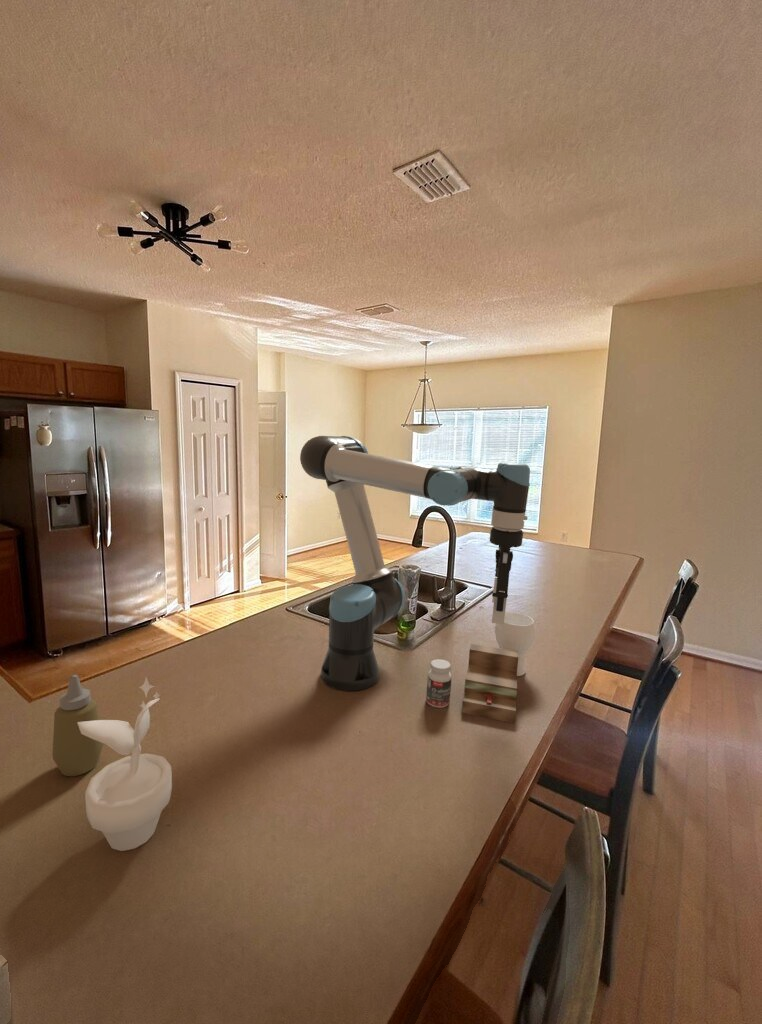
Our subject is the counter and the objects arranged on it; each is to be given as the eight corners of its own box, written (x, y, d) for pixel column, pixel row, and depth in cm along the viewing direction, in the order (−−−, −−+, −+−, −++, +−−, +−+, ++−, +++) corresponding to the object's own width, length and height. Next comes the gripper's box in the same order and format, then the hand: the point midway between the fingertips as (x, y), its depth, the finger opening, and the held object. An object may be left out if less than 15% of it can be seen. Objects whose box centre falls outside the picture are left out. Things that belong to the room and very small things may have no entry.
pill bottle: (430, 710, 108) (433, 670, 107) (422, 696, 114) (424, 659, 112) (453, 707, 110) (456, 668, 108) (444, 694, 115) (446, 657, 114)
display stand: (461, 712, 108) (464, 672, 106) (468, 678, 123) (470, 643, 121) (514, 723, 105) (518, 682, 103) (514, 687, 120) (518, 651, 118)
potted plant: (185, 805, 78) (180, 667, 74) (153, 869, 67) (146, 710, 62) (108, 804, 78) (100, 665, 73) (63, 868, 66) (51, 708, 62)
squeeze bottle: (95, 745, 91) (90, 661, 89) (112, 765, 86) (107, 676, 84) (47, 766, 85) (39, 676, 82) (62, 789, 80) (54, 694, 77)
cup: (533, 681, 123) (538, 628, 120) (492, 676, 125) (496, 623, 123) (528, 663, 133) (533, 613, 131) (491, 658, 135) (495, 609, 133)
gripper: (527, 541, 97) (515, 635, 101) (520, 520, 121) (511, 597, 125) (490, 537, 99) (480, 630, 102) (491, 517, 123) (483, 593, 126)
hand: (497, 612), depth 114 cm, fingers open, 13 cm apart
